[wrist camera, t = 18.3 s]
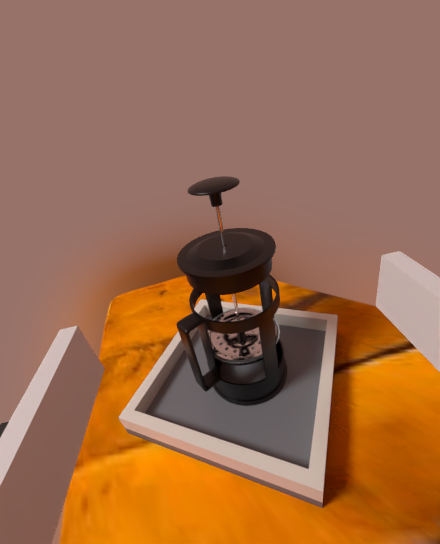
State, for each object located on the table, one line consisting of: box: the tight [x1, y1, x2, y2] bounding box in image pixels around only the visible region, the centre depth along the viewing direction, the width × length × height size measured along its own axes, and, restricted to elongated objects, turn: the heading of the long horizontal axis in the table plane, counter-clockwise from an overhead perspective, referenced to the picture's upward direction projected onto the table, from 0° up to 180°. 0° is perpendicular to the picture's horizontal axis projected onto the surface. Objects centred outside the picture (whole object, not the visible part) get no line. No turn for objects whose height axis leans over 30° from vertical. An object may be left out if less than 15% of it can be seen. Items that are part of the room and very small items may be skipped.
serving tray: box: [118, 299, 338, 508], centre depth 34 cm, size 20×20×3 cm
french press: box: [177, 177, 287, 406], centre depth 28 cm, size 12×9×23 cm
